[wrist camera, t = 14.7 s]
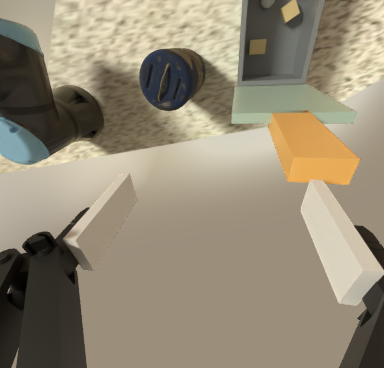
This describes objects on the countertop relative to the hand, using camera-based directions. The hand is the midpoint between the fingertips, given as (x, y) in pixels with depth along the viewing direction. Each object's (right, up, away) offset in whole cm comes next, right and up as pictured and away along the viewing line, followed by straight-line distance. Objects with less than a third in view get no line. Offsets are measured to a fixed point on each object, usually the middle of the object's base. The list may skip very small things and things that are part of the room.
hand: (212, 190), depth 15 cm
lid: (+10, +11, +10) cm, 18 cm away
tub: (+14, +32, +24) cm, 42 cm away
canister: (-3, +27, +32) cm, 42 cm away
